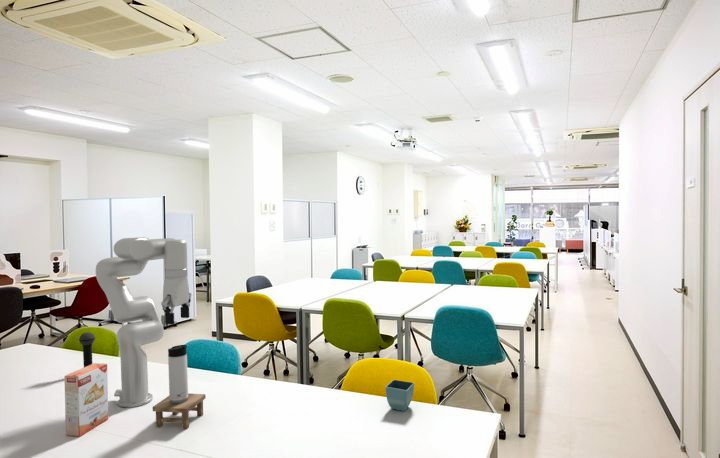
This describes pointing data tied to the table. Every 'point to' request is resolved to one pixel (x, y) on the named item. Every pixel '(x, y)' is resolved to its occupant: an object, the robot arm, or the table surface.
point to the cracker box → (86, 399)
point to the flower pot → (399, 394)
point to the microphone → (87, 347)
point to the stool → (179, 409)
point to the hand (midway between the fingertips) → (177, 320)
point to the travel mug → (178, 374)
